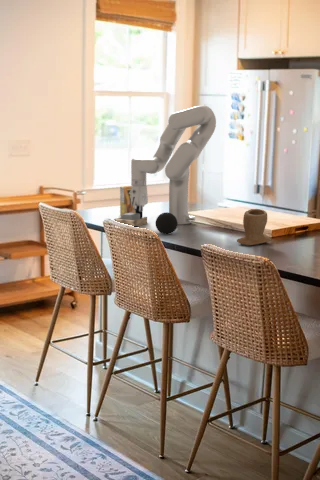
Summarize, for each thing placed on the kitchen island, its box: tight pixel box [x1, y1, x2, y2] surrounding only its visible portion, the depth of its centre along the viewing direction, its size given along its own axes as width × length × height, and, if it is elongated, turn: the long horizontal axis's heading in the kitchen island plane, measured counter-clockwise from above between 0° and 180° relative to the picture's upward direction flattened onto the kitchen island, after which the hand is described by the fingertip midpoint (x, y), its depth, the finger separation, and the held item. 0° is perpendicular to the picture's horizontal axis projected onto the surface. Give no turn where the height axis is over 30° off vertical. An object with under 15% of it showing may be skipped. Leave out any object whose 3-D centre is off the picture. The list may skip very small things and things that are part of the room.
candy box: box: [119, 185, 135, 216], centre depth 382 cm, size 9×4×15 cm, turn 129°
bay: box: [113, 216, 148, 227], centre depth 355 cm, size 12×12×3 cm
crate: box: [120, 212, 140, 220], centre depth 358 cm, size 6×8×5 cm
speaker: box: [155, 212, 178, 235], centre depth 328 cm, size 10×10×10 cm
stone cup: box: [236, 208, 272, 246], centre depth 305 cm, size 15×12×15 cm
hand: (138, 218), depth 363 cm, fingers closed
